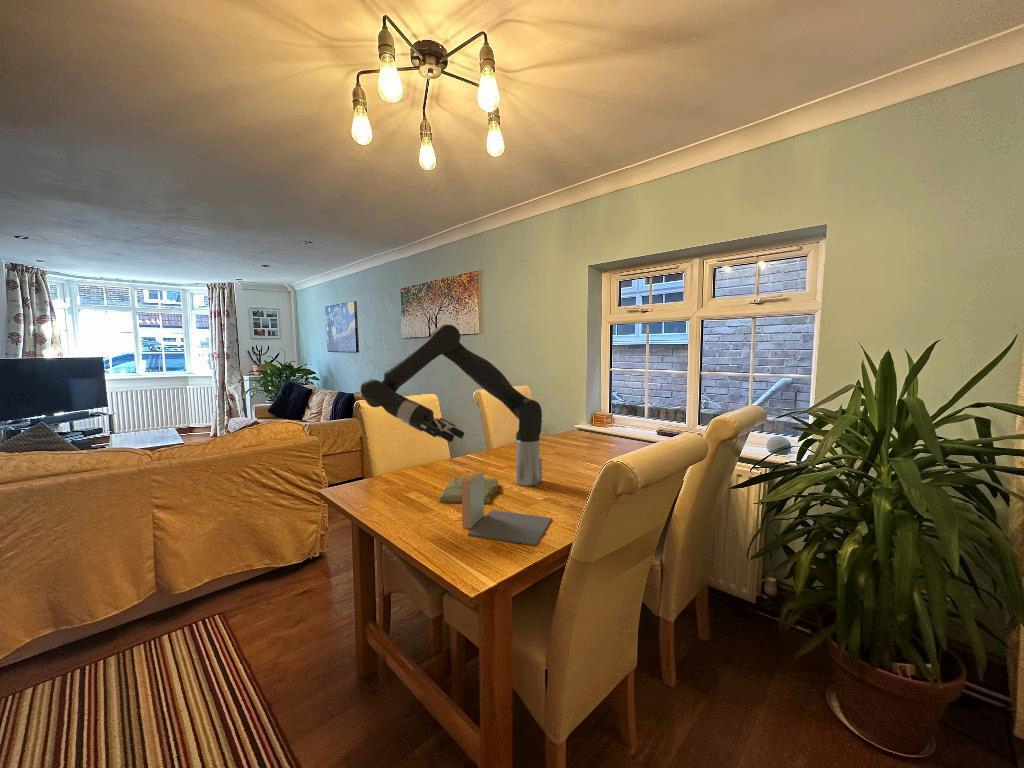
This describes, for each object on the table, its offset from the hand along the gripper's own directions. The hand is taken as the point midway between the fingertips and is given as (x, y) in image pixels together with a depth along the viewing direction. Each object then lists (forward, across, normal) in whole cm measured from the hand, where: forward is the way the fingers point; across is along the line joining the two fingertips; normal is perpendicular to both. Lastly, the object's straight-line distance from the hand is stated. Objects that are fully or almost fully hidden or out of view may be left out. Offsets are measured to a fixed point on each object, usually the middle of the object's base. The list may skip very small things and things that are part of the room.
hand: (458, 437), depth 126 cm
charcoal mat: (+27, -2, +16) cm, 31 cm away
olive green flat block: (+7, +22, +23) cm, 33 cm away
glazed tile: (+16, -1, +21) cm, 26 cm away
